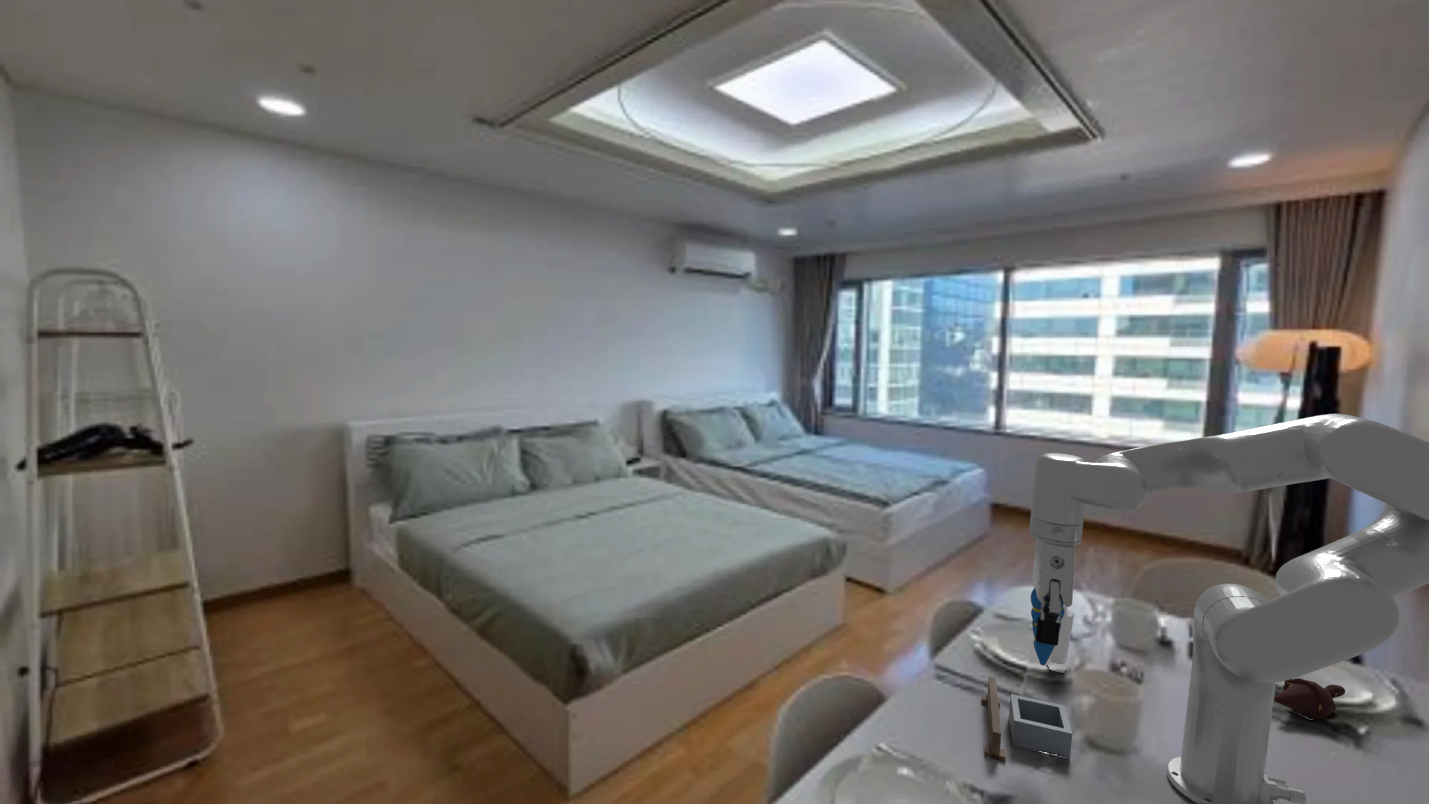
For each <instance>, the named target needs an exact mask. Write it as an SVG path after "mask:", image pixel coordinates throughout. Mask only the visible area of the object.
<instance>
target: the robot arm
mask: <svg viewBox="0 0 1429 804" xmlns="http://www.w3.org/2000/svg"><path fill="white" fill-rule="evenodd" d="M1034 468H1035V469H1034V478H1033V479H1034V481H1033V487H1032V489H1033V492H1032V499H1031V501H1032V502H1031V511H1030V520H1029V529H1028V530H1029V532H1028V534H1029V535H1028V536H1030V538H1033V539H1034V540H1035V544H1034V545H1035V546H1034V555H1033V556H1034V557H1033V567H1032V570H1033V571H1032V583H1033V589H1034V588H1035V590H1036V595H1037V598H1038V600H1039V601H1041V607H1040V617H1038V619H1037V629H1036V641H1037V642H1039V643H1044V644H1049V645H1054V646H1057V645H1058V640H1059V630H1060V610H1061V598H1062V600H1063V603H1064V605H1066V606H1067V608H1070V607H1072V606H1073V598H1074V597H1073V594H1074V581H1075V565H1076V564H1075V562H1076V561H1075V560H1076V559H1075V557H1076V555H1075V551H1076V549H1075V546H1079V545H1080V544H1082V537H1083V527H1084V519H1085V518H1084V517H1085V508H1086V505H1088V506H1090V507H1094V508H1097V509H1101V510H1106V511H1110V512H1115V513H1116V512H1117V513H1127V512H1132V511H1135V510H1136V509H1138V508H1140V507H1141V506H1142V505H1144V503H1145V502H1146V500H1147V498H1148V494H1150V493H1153V492H1162V491H1168V490H1176V489H1201V490H1208V491H1212V492H1220V493H1245V492H1251V491H1252V492H1253V491H1258V490H1264V489H1270V488H1275V487H1283V486H1289V485H1294V484H1300V483H1301V484H1302V483H1309V482H1313V481H1321V480H1327V479H1331V480H1334V481H1336V482H1339V483H1340V484H1343V485H1344V486H1347V487H1349V488H1352V489H1354V490H1356V491H1358V492H1360V493H1362V494H1364V495H1367V496H1369V497H1371V498H1374V499H1375V500H1378V501H1380V502H1383V503H1385V504H1386V505H1385V507H1384V510H1383V511H1382V512H1381V514H1380V515H1379V516H1378V517H1377V518H1376V519H1375V520H1374V521H1373V522H1371V523H1370V524H1369V525H1366V526H1364V527H1363V528H1361V529H1359V530H1357V531H1354V532H1353V533H1351V534H1348V535H1347V536H1344V537H1342V538H1340V539H1337V540H1335V541H1332V542H1331V543H1328V544H1325V545H1323V546H1321V547H1319V548H1316V549H1314V550H1311V551H1309V552H1307V553H1304V554H1302V555H1299V556H1297V557H1294V558H1293V559H1290V560H1289V561H1287V562H1286V563H1284V564H1283V565H1282V566H1281V567H1279V569H1278V570H1277V571H1276V575H1275V580H1274V581H1275V587H1276V590H1277V592H1278V594H1279V596H1277V597H1274V598H1271V599H1270V600H1269V599H1268V598H1267V597H1265V596H1264V595H1263V594H1262V593H1260V592H1258V591H1256V590H1255V589H1253V588H1250V587H1248V586H1245V585H1243V584H1237V583H1220V584H1215V585H1213V586H1211V587H1209V588H1208V589H1206V590H1205V591H1203V592H1202V593H1201V595H1200V596H1199V597H1198V599H1197V601H1196V602H1195V603H1196V604H1195V607H1194V612H1193V621H1192V622H1193V623H1192V624H1193V626H1192V628H1193V629H1192V630H1193V631H1192V632H1193V633H1192V636H1193V637H1192V641H1193V642H1192V644H1193V645H1192V658H1191V668H1190V669H1191V670H1190V680H1189V686H1188V695H1187V704H1186V711H1185V712H1186V713H1185V721H1184V729H1183V738H1182V746H1181V747H1182V748H1181V749H1182V750H1181V756H1178V757H1173V758H1172V759H1170V760H1169V761H1168V762H1167V767H1166V775H1167V778H1168V780H1169V781H1170V783H1171V784H1172V785H1173V786H1174V787H1175V788H1176V789H1177V790H1178V791H1179V792H1180V793H1181V794H1182V795H1183V796H1185V797H1186V798H1187V799H1188V800H1191V801H1192V802H1194V803H1195V804H1275V802H1274V801H1278V800H1279V799H1280V800H1284V801H1287V802H1290V803H1294V804H1307V796H1306V793H1305V791H1304V790H1302V789H1300V788H1295V787H1291V786H1287V783H1286V780H1285V778H1284V777H1279V776H1278V777H1277V776H1274V775H1268V774H1266V773H1265V769H1266V762H1267V754H1268V753H1267V752H1268V748H1269V747H1268V746H1269V740H1270V732H1271V731H1270V730H1271V724H1272V715H1273V709H1274V703H1275V701H1274V697H1275V696H1276V683H1281V682H1284V681H1285V680H1290V679H1295V678H1300V677H1302V676H1305V675H1307V674H1310V673H1313V672H1316V671H1319V670H1322V669H1324V668H1327V667H1330V666H1334V665H1336V664H1339V663H1342V662H1344V661H1347V660H1351V659H1352V658H1356V657H1358V656H1361V655H1363V654H1365V653H1369V652H1371V651H1373V650H1376V649H1377V648H1378V647H1380V646H1382V645H1384V643H1386V642H1387V641H1389V639H1390V638H1391V637H1392V636H1393V635H1394V634H1395V633H1396V630H1397V629H1398V627H1399V623H1400V616H1401V615H1400V610H1399V606H1398V603H1397V602H1396V600H1395V599H1396V598H1398V597H1401V596H1403V595H1405V594H1407V593H1410V592H1412V591H1414V590H1416V589H1418V588H1420V587H1423V586H1425V585H1427V584H1429V441H1426V440H1424V439H1420V438H1418V437H1416V436H1414V435H1411V434H1408V433H1406V432H1403V431H1401V430H1398V429H1396V428H1394V427H1391V426H1389V425H1386V424H1384V423H1381V422H1379V421H1374V420H1372V419H1368V418H1363V417H1360V416H1355V415H1352V414H1351V415H1350V414H1343V413H1328V414H1319V415H1314V416H1310V417H1309V416H1308V417H1304V418H1299V419H1293V420H1290V421H1284V422H1279V423H1274V424H1269V425H1264V426H1260V427H1256V428H1255V427H1254V428H1249V429H1246V430H1245V429H1244V430H1239V431H1234V432H1228V433H1227V432H1226V433H1223V434H1218V435H1211V436H1210V435H1209V436H1203V437H1197V438H1191V439H1186V440H1177V441H1171V442H1163V443H1158V444H1157V443H1156V444H1151V445H1147V446H1141V447H1135V448H1131V449H1125V450H1122V451H1120V450H1119V451H1116V452H1112V453H1108V454H1107V453H1106V454H1104V455H1102V456H1100V457H1098V458H1096V459H1095V460H1094V461H1093V462H1087V460H1086V459H1084V458H1083V457H1080V456H1078V455H1073V454H1066V453H1056V452H1051V453H1049V452H1048V453H1047V452H1046V453H1043V454H1041V455H1039V456H1038V457H1037V459H1036V463H1035V467H1034ZM1045 597H1049V601H1047V600H1045ZM1045 605H1049V608H1046V610H1045ZM1031 623H1032V624H1031V626H1032V627H1033V624H1034V622H1033V620H1032V622H1031Z"/></svg>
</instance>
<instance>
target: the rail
mask: <svg viewBox="0 0 1429 804" xmlns="http://www.w3.org/2000/svg"><path fill="white" fill-rule="evenodd" d="M997 686H998V685H997V677H994V676H990V675H989V676H988V683H987V694H984V693H982V694H981V704H983V705H986V707H987V718H988V721H987V722H988V733H989V734H988V735H989V745H988V744H984V749H983V750H984V757H985V758H988V759H989V758H990V759H993V760H997V761H1001V762H1005V763H1006V760H1007V759H1006V749H1004V748H1001V744H1002V728H1001V727H1002V725H1001V717H1000V708H1001V699H1000V698H1001V697H999V696H998V687H997Z"/></svg>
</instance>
